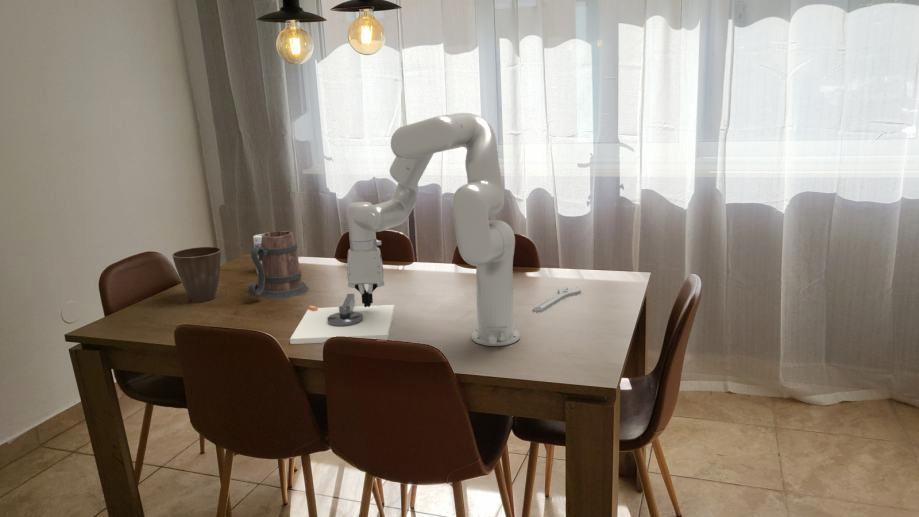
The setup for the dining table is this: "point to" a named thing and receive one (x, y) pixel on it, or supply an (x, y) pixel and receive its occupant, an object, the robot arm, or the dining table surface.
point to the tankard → (277, 267)
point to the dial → (346, 313)
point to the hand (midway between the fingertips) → (367, 305)
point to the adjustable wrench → (556, 298)
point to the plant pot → (199, 271)
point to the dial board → (319, 330)
